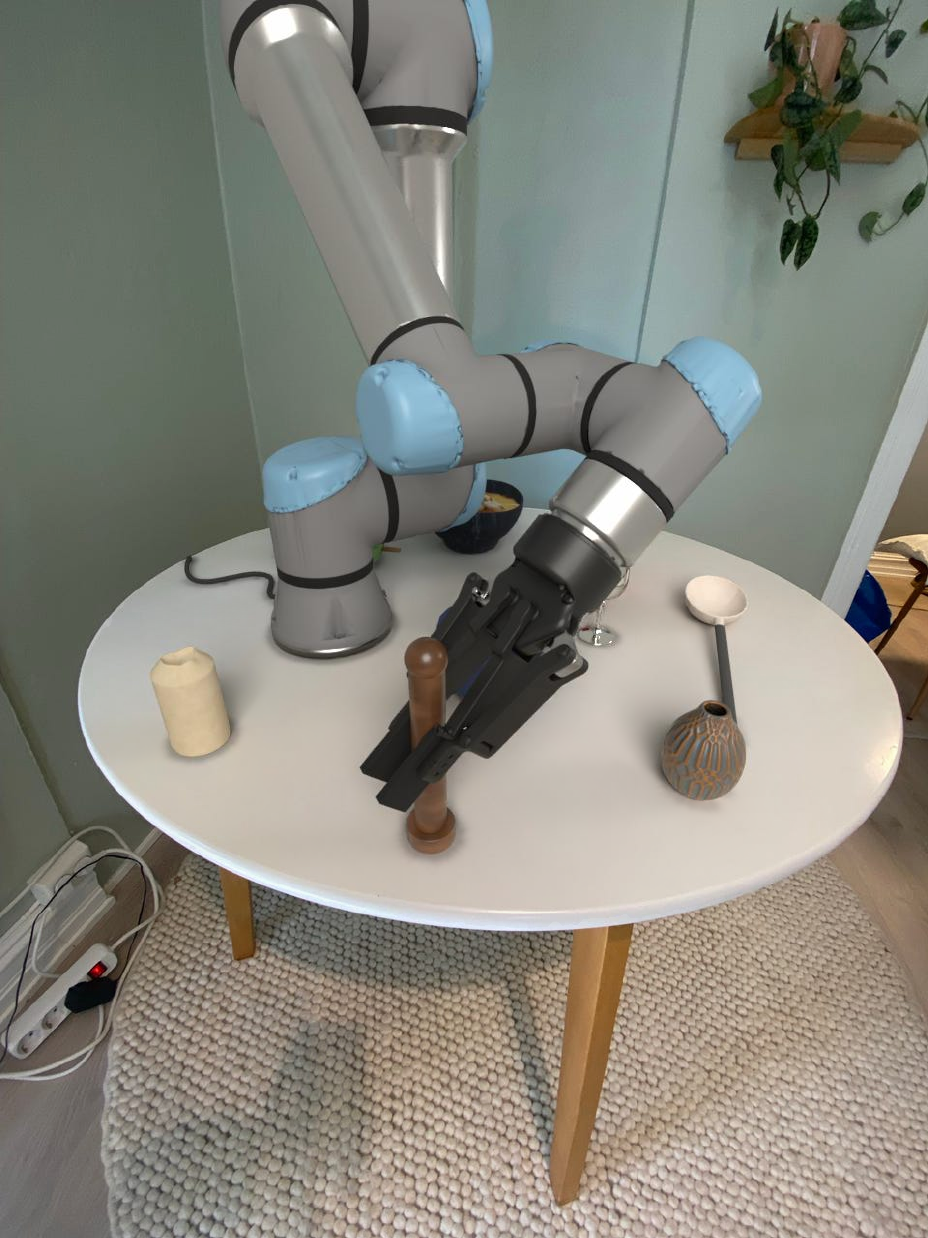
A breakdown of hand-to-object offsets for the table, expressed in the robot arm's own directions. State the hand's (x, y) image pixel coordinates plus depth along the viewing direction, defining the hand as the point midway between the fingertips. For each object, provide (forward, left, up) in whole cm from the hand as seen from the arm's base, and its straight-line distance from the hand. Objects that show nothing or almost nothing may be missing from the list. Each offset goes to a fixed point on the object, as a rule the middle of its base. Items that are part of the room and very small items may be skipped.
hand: (382, 789), depth 44 cm
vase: (+21, +19, -7) cm, 29 cm away
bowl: (-20, +59, -7) cm, 63 cm away
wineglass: (+7, +40, -7) cm, 41 cm away
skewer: (-37, +45, -7) cm, 58 cm away
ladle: (+21, +41, -7) cm, 47 cm away
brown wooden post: (+2, +3, -7) cm, 8 cm away
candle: (-24, +4, -7) cm, 25 cm away
